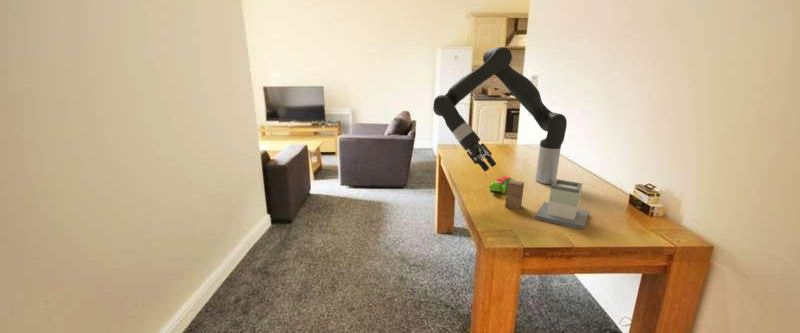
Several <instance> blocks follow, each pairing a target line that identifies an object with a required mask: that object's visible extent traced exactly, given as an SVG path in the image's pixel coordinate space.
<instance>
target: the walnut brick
mask: <svg viewBox="0 0 800 333" xmlns="http://www.w3.org/2000/svg"><path fill="white" fill-rule="evenodd" d="M524 185H525V182H524V181H522V180H521V181H520V180H514V179H513V180H510V181H509V182H508V184H507V187H506V196H505V205H504V207H505V208H508V209H512V210H516V211H518V210H519V209H520V208H521V207H522V204H523V202H522V201H523V196H524V194H523V193H524V187H525V186H524Z"/></svg>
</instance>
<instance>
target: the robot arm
mask: <svg viewBox="0 0 800 333" xmlns="http://www.w3.org/2000/svg"><path fill="white" fill-rule="evenodd" d="M482 57H483V58H482V60H483V64H482V65H480V66H479V67H477V68H476V69H474V70H472V71H470V72H469V73H467V74H466V75H464V76H463V77H461V78H460V79H459V80H458V81H456V83H454V84H453V85H452V86H451V87H449V89H448V91H447V93H445V94H439V95H437V96H436V97H435V98H434V101H433V108H432V110H433V112H434V114H435V115H437V116H438V117H442V118H443V119H444V121H445V125H446V126H447V128H448V129H449V130H450V132H451V133H452V134H453V136H454V137H455V140H456V141H457V142H458V143H459V144H460V145H461V147H462V148H463V150H464V151H467V152H466V154H467V155H468V157H469V158H470V159H471V161H472V162H473V163H474V165H479V166H480V167H481V169H482V170H483V171H484V172H487V171H489V170H490V167H492V168H493V167H495V166H496V165H497V162H496V161H495V160H494V159H493V157H492V154H493V153H492V152H491V151H490V150H489V148H488V147H487V146H486V144H484V143H481V144H480V141H481V138H480V137H479V135H478V134H477V132H475V131H474V129H473V128H472V127H471V125H469V124H468V123H467V121H466V120H465V119H464V118H463V117H462V115H461V114H460V113H459V112H458V110H457V107H456V106H457V105H458V104H459V103H460V101H462V100H464V99H465V98H466V97H467V96H468V95H469V94H470V93H473V91H474V90H476V89H477V88H478V87H479V86H480V85H482V84H483V83H484V82H486V81H487V80H489V79H490V78H492V77H493V76H495V77H496V78H498V79H499V81H501V82H502V84H503V85H504V86H505V87H506V89H508V91H509V92H510V93H511V94H512V96H514V98H515V99H516V100H517V101H518V103H520V105H522V106H523V107H524V108H525V110H526V111H528V113H529V114H530V115H531V116H532V118H533V119H534V120H535V122H536V123H537V124H538V126H539V127H540V129H542V130H543V131H545V132H547V133H546V137H545V138H544V139H543V138H542V139H541V140H540V142H539V149H538V150H539V151H538V159H537V165H536V174H535V182H537V183H540V184H545V185H552V184H553V182H554V181H555V180H556V179H557V177H558V169H559V163H560V155H561V149H562V144H563V143H564V140H565V136H566V131H567V124H568V123H567V117H566V116H565V115H564V114H562V113H558V112H553V111H551V110H550V109H549V108H547V106H546V105H545V104H544V103H543V100H542V98H541V97H542V96H541V93H540V91H539V89H538V88H537V87H536V86H535V85H534V83H533V82H532V81H531V80H530V78H527V77H526V76H524V75H523V74H522V73H519V72H518V71H517V70H515V69H514V68H513V67H512V66H511V65H510V64H511V63H512V61H513V60H512V59H513V55H512V51H511V50H510V49H509V48H508V47H505V46H498V47H492V48H489V49H487V50H486V51H485V52H484V54H483V56H482ZM484 159H485V160H486V161H487V162H488V164H489V165H488V164H487V163H486V162H485V161H484ZM489 166H490V167H489Z"/></svg>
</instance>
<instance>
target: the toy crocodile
mask: <svg viewBox="0 0 800 333" xmlns="http://www.w3.org/2000/svg"><path fill="white" fill-rule="evenodd" d="M510 180H514V178H513V177H509V176H504V175H503V176H502V177H499V178H498V179H495V180H494V181H492V182H490V185H489V190H490V192H491V191H492V192H494V191H495V192H500V194H505V193H507V184H508V182H509V181H510Z"/></svg>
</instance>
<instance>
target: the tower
mask: <svg viewBox="0 0 800 333" xmlns="http://www.w3.org/2000/svg"><path fill="white" fill-rule="evenodd" d="M550 185H551V186H550V193H549V200H548V202H546V201H544V202H543V203H542V205H541V206H540V208H539V209H538V211H537V212H536V213H535V215H534V220H537V221H541V222H546V223H551V224H555V225H560V226H564V227H568V228H573V229H577V230H582V231H584V229H585V226H586V222H587V219H588V217H589V213H590V211H589V210H586V209H580V208H579V206H580V199H581V193H582V187H583V183H581V182H575V181H570V180H564V179H557V178H556V180H555V181H554V182H553V184H550Z"/></svg>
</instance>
